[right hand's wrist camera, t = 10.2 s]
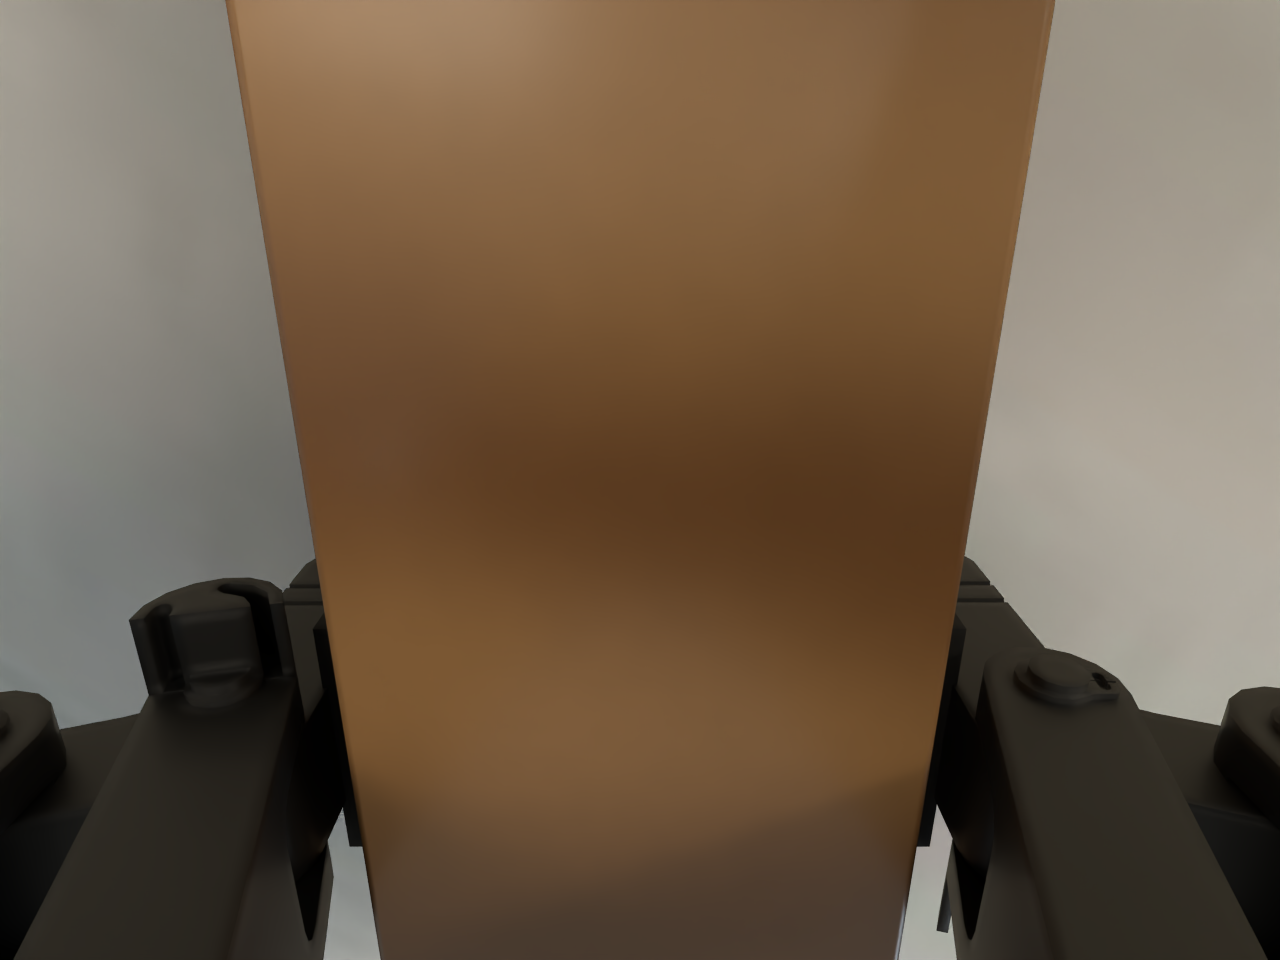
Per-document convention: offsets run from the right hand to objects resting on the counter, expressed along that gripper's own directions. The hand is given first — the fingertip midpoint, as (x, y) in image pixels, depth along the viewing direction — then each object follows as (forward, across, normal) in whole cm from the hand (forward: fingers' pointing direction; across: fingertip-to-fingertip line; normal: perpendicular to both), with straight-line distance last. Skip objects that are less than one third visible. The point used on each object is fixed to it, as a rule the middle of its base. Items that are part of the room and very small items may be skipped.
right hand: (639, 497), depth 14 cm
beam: (+1, 0, -20) cm, 20 cm away
